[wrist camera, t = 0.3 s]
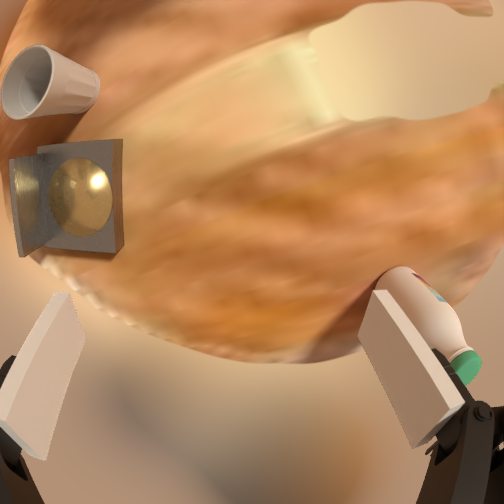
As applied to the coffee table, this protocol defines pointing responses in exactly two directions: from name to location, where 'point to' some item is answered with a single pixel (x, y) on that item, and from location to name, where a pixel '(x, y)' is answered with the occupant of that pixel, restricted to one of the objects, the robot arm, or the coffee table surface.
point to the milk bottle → (431, 319)
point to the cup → (47, 85)
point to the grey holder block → (69, 197)
